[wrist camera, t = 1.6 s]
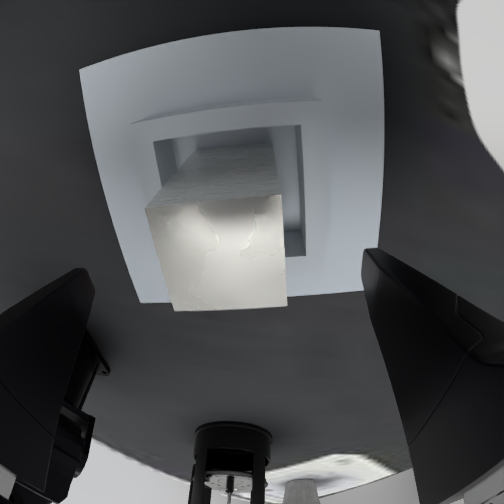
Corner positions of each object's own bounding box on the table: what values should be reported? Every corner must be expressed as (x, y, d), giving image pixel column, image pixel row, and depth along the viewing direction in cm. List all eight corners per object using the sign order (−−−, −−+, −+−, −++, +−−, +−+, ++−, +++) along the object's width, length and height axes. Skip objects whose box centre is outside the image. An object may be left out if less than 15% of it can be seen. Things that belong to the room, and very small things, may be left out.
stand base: (369, 284, 20) (386, 326, 17) (142, 298, 22) (124, 339, 18) (376, 31, 12) (408, 20, 9) (83, 69, 13) (41, 72, 10)
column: (279, 224, 17) (287, 318, 11) (208, 229, 18) (178, 323, 11) (272, 142, 15) (281, 194, 9) (194, 150, 15) (144, 208, 9)
